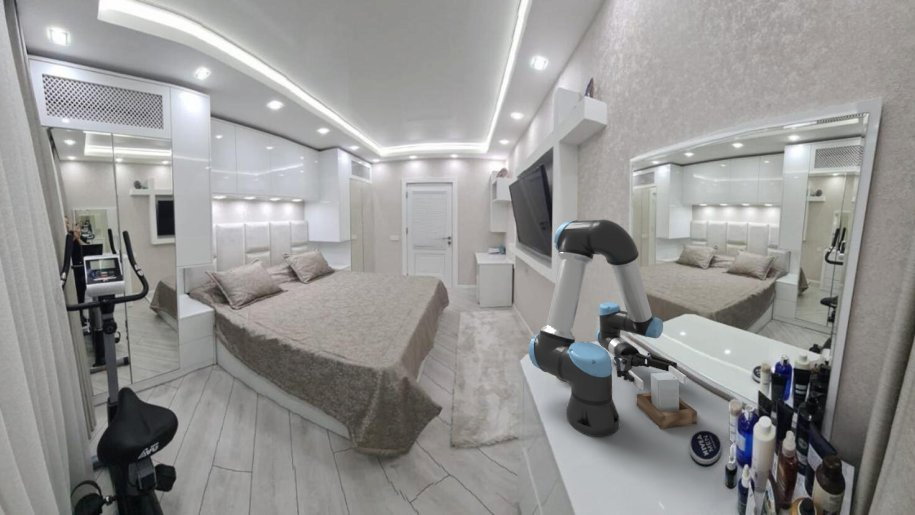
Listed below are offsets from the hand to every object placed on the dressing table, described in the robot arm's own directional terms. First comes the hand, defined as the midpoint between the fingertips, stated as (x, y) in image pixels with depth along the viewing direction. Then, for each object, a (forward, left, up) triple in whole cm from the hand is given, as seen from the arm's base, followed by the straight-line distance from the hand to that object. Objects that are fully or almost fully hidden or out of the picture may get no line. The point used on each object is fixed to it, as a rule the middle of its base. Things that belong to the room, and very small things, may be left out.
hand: (663, 382), depth 95 cm
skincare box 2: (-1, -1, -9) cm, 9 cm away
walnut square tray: (-1, -1, -10) cm, 10 cm away
